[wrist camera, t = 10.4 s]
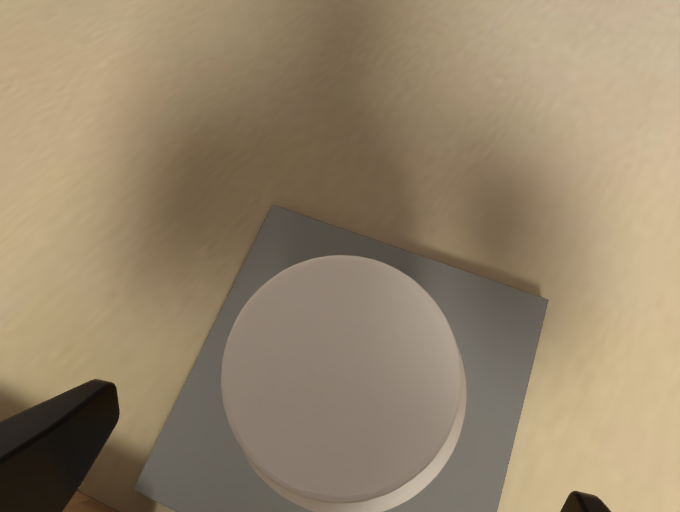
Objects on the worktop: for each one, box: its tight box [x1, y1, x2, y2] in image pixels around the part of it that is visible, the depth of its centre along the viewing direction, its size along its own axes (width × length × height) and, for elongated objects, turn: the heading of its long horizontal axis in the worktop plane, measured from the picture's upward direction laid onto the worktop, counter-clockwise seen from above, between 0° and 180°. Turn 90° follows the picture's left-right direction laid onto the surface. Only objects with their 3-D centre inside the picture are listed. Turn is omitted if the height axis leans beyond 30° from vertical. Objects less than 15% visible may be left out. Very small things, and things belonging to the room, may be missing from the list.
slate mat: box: [133, 205, 548, 512], centre depth 16 cm, size 12×12×1 cm
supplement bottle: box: [221, 255, 467, 512], centre depth 12 cm, size 5×5×10 cm
